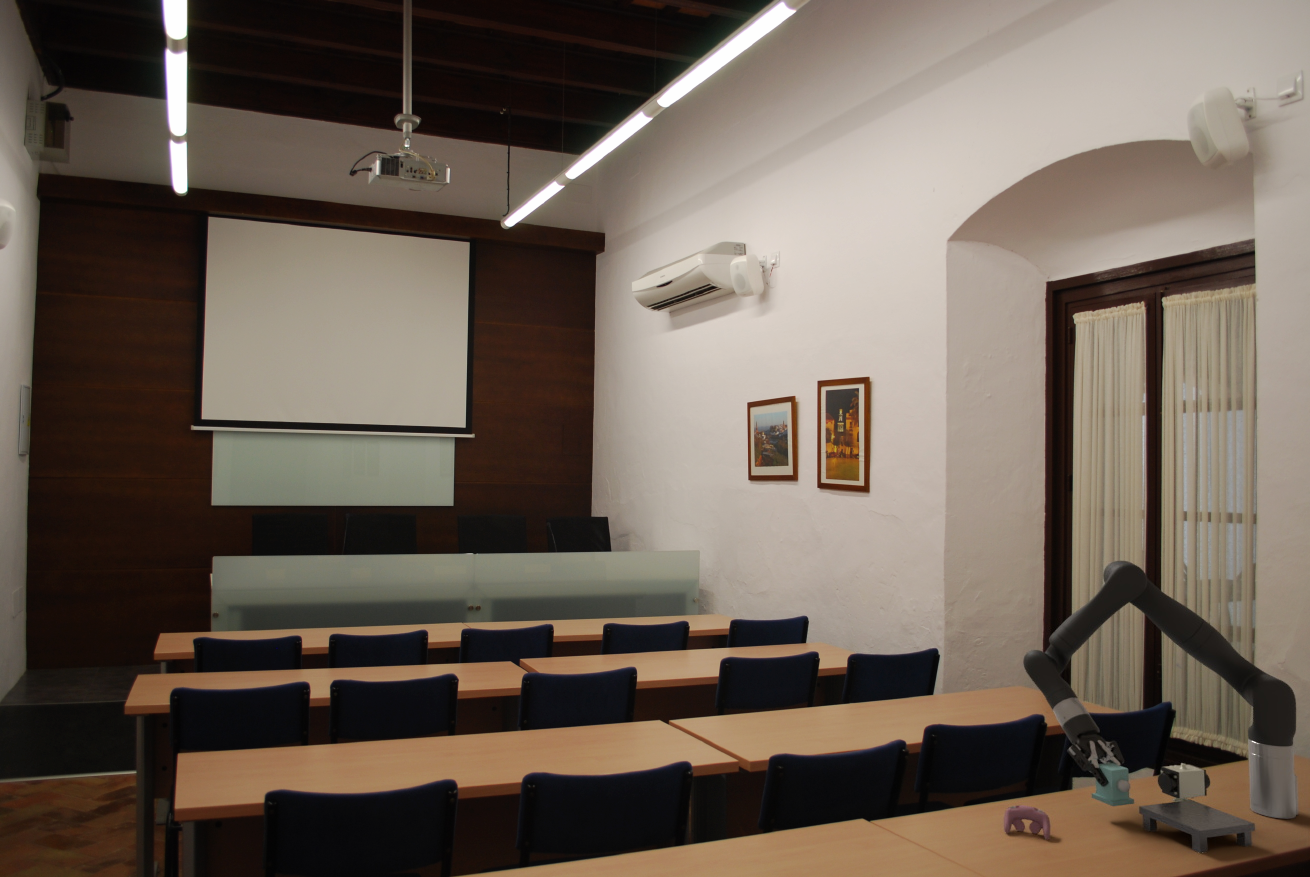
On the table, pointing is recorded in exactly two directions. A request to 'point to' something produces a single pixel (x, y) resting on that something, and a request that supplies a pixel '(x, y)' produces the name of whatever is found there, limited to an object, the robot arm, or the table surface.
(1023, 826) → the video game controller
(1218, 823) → the stand
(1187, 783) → the pneumatic valve
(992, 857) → the table surface
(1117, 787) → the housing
